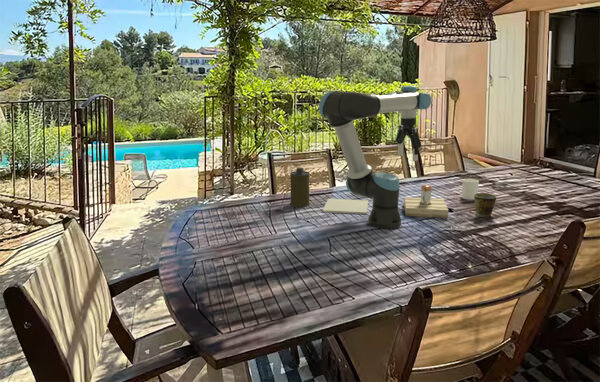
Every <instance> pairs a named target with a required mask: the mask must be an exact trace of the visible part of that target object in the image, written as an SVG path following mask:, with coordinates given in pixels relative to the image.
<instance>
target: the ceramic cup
mask: <svg viewBox="0 0 600 382" xmlns="http://www.w3.org/2000/svg"><path fill="white" fill-rule="evenodd" d="M474 199H475V200H474V205H475V207H474V208H475V215H476V216H478V217H480V218H489V217H491V216H492V212H493V210H494V206H495V204H496V201H497V195H495V194H491V193H487V192H480V193H479V192H478V193H477V194H475V195H474Z"/></svg>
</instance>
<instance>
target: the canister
mask: <svg viewBox="0 0 600 382" xmlns="http://www.w3.org/2000/svg"><path fill="white" fill-rule="evenodd" d="M289 174H290V206H292V207H294V208H306V207H309V206H310V174H311V173H310V172H309V171H305V169H304V167H296V170H295V171H291V172H290V173H289Z"/></svg>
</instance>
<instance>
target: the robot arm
mask: <svg viewBox="0 0 600 382" xmlns="http://www.w3.org/2000/svg"><path fill="white" fill-rule="evenodd" d="M417 91H418V90H417V87H416V85H404V86H401V87H400V91H393V92H392V91H391V92H388V93H386V94H382V95H381V94H380V95H377V94H375V93H362V92H357V91H356V92H355V91H337V90H334V91H327V92H326V93H324V94H323V95H322V97H321V98H320V102H319V104H318V110H319V114H320V115H321V116H322V117H323V118H325V119H327V121H328V123H329V126H330V127H331V128H334V131H335V133H336V136H337V139H338V142H339V145H340V148H341V151H342V153H343V156H344V159H345V162H346V164H347V168H348V172H347V176H346V177H345V178H346V180H345V186H346V189H347V190H348V191H349V193H351V194H353V195H355V196H359V197H363V198H367V199H371V200H372V207H371V210H370V213H369V216H368V219H367V223H368V225H369V226H370V227H373V228H376V229H382V230H388V229H389V230H390V229H393V230H394V229H397V228H399V227H401V226H402V219H401V214H400V211H399V200H400V199H399V197H400V179H399V177H398V176H397V175H395V174H393V173H390V172H384V171H382V172H381V171H378V172H375V173H374V172H373V169H372V166H371V165H369V164H367V162H366V157H365V155H364V152H363V149H362V145H361V143H360V140H359V136H358V133H357V130H356V127H355V124H354V121H355V120H356V121H357V120H362V119H367V118H374V117H376V116H378V115H379V114H386V113H395V112H400V125H398V131H397V133H396V137H395V143H397V151H398V152H397V156H398V157H402V156H404V140H405V139H406V136H407V137H408V138H409V140H410V142H411V144H412V146H413V147H412V160H411V161H412V162H417V161H419V148H422V142H421V138H420V135H419V128H418V127H414V126H416V125H417V118H416V117H417V116H416V115H417V110H427V109H429V108H430V106H431V104H432V97H431V94H429V93H428V92H417Z"/></svg>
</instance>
